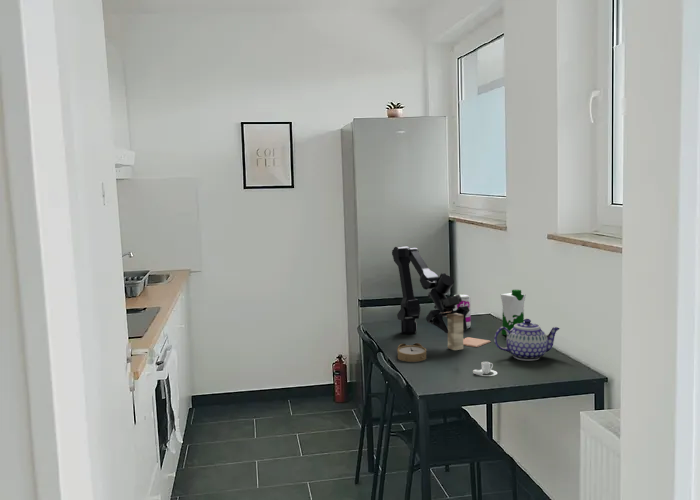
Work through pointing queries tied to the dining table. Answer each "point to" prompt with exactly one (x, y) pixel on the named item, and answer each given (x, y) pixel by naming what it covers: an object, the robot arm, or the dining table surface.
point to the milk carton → (512, 309)
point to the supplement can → (465, 302)
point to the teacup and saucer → (485, 369)
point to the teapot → (527, 340)
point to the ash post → (455, 331)
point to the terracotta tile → (474, 342)
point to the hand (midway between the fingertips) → (456, 331)
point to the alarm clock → (411, 352)
